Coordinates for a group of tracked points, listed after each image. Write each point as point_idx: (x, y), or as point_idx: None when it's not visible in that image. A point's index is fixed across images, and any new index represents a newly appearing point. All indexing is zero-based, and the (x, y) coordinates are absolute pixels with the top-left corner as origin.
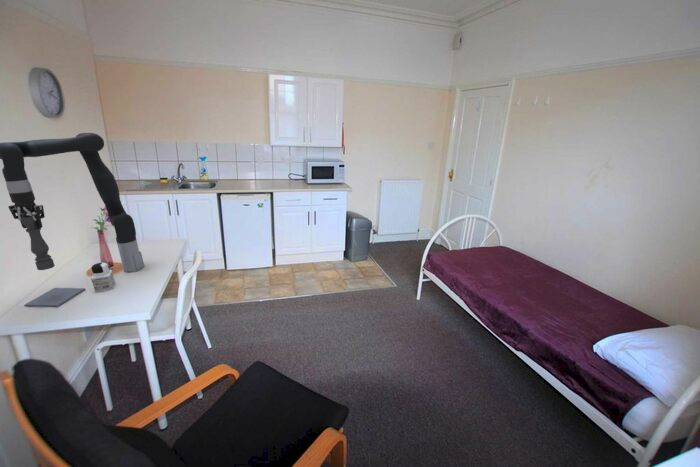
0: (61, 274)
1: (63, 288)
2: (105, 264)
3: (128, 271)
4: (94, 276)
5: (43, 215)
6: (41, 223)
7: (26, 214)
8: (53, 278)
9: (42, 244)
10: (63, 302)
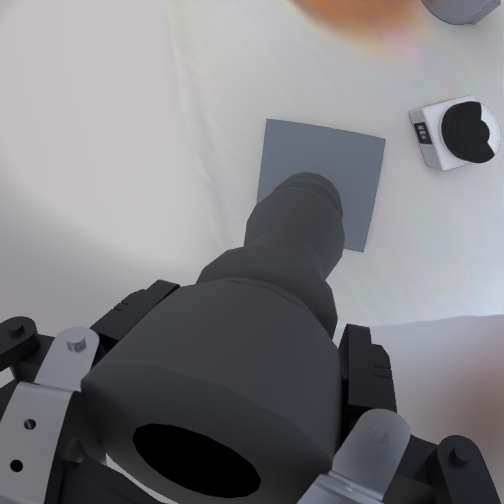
0: (203, 11)
1: (304, 127)
2: (499, 134)
3: (450, 22)
4: (449, 157)
5: (476, 483)
6: (390, 380)
7: (80, 401)
8: (198, 38)
9: (332, 268)
10: (367, 231)
